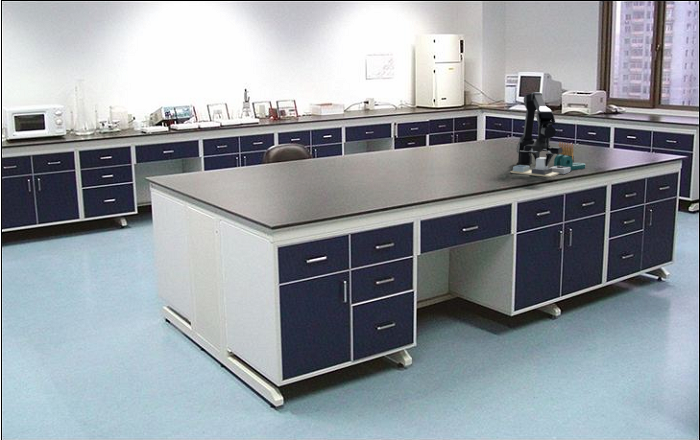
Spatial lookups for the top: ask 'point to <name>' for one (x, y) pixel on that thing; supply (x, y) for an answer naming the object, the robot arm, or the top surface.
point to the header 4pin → (541, 171)
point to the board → (536, 174)
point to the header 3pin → (521, 168)
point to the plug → (541, 163)
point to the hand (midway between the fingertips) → (542, 165)
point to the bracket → (567, 162)
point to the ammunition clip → (567, 150)
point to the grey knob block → (561, 169)
